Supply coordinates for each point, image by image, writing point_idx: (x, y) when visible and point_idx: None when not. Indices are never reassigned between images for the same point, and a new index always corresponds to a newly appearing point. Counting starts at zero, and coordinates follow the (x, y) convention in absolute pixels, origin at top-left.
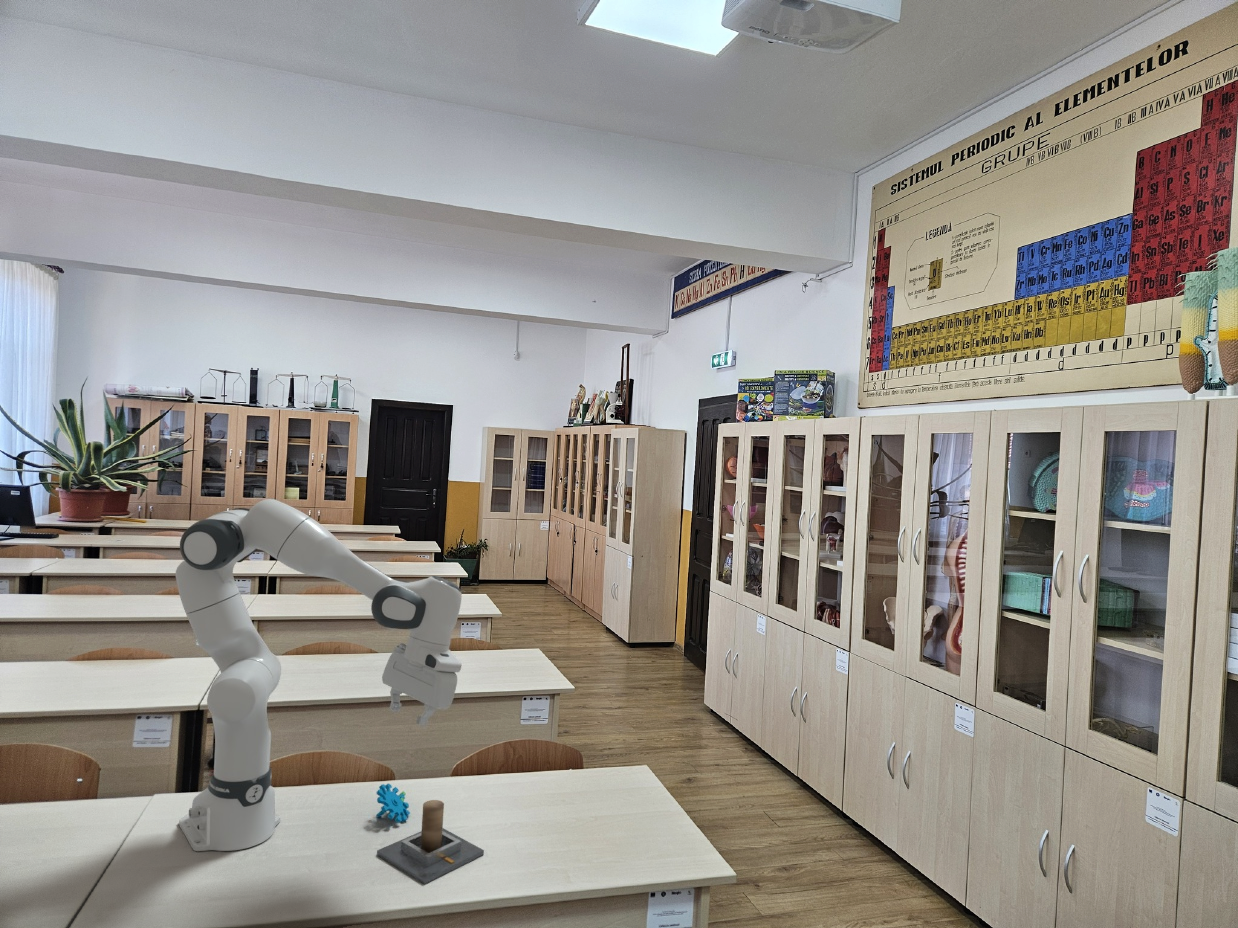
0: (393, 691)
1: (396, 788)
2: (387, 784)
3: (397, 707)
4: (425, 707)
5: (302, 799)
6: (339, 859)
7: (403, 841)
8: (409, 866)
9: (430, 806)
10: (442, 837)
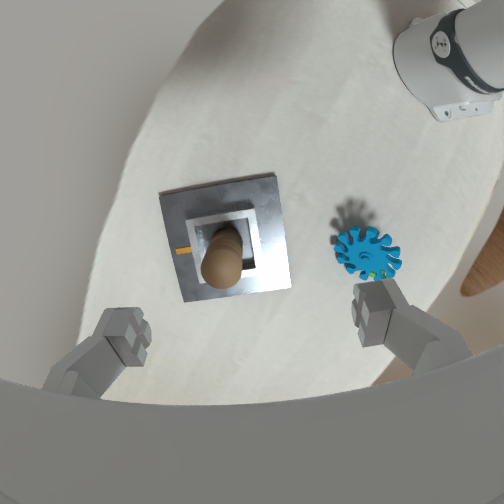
0: (439, 350)
1: (391, 275)
2: (399, 263)
3: (361, 314)
4: (62, 378)
5: (468, 175)
6: (297, 125)
7: (251, 210)
8: (203, 194)
9: (217, 261)
10: None
